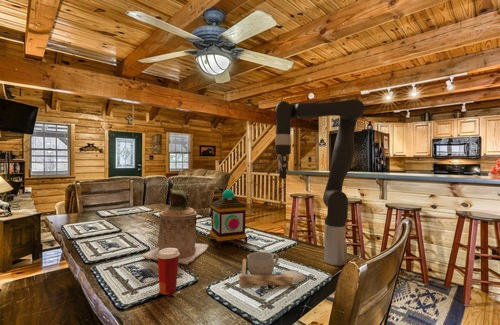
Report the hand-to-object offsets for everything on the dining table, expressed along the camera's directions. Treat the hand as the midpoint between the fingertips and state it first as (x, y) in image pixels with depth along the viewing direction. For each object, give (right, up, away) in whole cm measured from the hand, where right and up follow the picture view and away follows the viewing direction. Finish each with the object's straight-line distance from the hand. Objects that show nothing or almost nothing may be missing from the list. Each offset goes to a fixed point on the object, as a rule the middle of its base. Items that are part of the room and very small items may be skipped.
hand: (282, 178), depth 121 cm
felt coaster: (+1, -38, -20) cm, 43 cm away
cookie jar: (-51, -38, +4) cm, 64 cm away
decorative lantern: (-28, -38, +24) cm, 53 cm away
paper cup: (-45, -38, -32) cm, 67 cm away
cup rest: (-10, -38, -18) cm, 43 cm away
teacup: (-10, -38, -18) cm, 44 cm away
